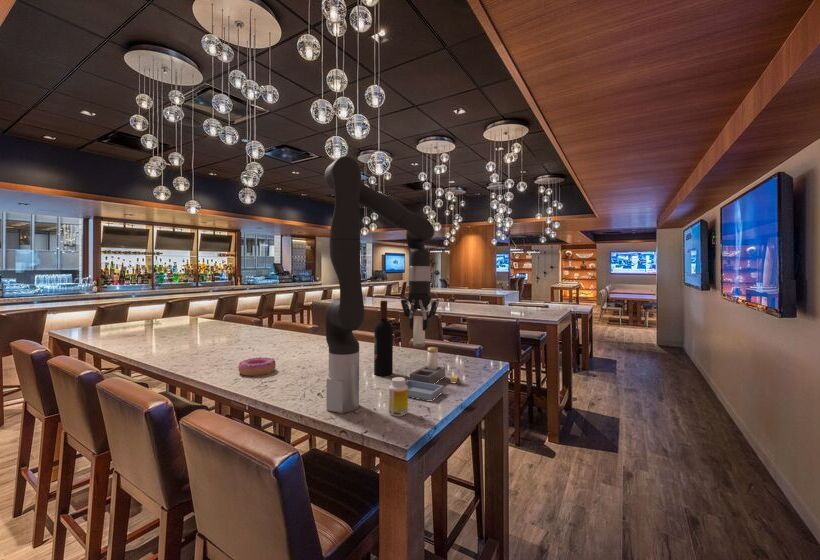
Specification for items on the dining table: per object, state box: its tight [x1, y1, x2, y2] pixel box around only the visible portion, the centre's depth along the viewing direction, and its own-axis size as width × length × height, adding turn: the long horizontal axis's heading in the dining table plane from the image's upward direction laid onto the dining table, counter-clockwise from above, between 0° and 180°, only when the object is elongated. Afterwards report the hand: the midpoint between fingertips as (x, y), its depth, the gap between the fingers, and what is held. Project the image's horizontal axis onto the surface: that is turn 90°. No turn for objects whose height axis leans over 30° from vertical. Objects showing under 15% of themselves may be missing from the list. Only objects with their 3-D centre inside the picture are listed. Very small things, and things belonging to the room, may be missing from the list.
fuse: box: [426, 346, 439, 371], centre depth 143 cm, size 4×4×12 cm
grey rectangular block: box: [409, 364, 446, 384], centre depth 139 cm, size 15×8×4 cm, turn 152°
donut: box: [237, 356, 277, 377], centre depth 150 cm, size 14×14×5 cm
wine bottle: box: [373, 300, 394, 378], centre depth 148 cm, size 8×8×30 cm
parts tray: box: [405, 379, 444, 401], centre depth 124 cm, size 14×10×2 cm
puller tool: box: [450, 374, 458, 383], centre depth 140 cm, size 8×2×1 cm, turn 172°
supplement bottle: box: [388, 376, 409, 417], centre depth 107 cm, size 6×6×10 cm
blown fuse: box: [412, 310, 426, 348], centre depth 124 cm, size 4×4×12 cm
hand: (419, 329), depth 124 cm, fingers closed on blown fuse, 4 cm apart
